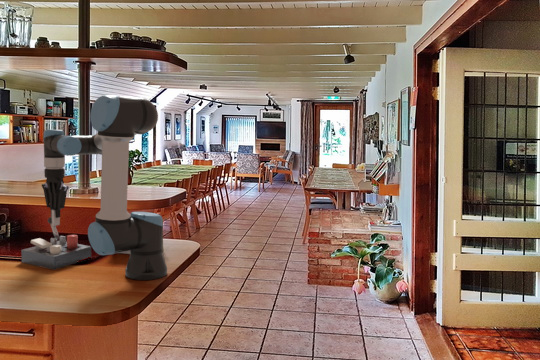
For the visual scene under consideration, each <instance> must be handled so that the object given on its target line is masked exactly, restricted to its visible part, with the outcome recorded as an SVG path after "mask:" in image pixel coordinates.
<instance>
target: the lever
mask: <svg viewBox="0 0 540 360" xmlns="http://www.w3.org/2000/svg"><path fill="white" fill-rule="evenodd" d="M47 223H48V224H50V227H51V230H52V234H53V236H54V237H53V238H56V239H57V240H60V235H59V232H58V229H57V225H56V226H52V217H51V216H50V217H48V218H47Z"/></svg>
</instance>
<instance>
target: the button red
mask: <svg viewBox="0 0 540 360" xmlns="http://www.w3.org/2000/svg"><path fill="white" fill-rule="evenodd" d="M78 238H79V237H78V235H77V234H68V235H66V242H67V249H76V248H78V244H79V243H78V241H79V240H78Z"/></svg>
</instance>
